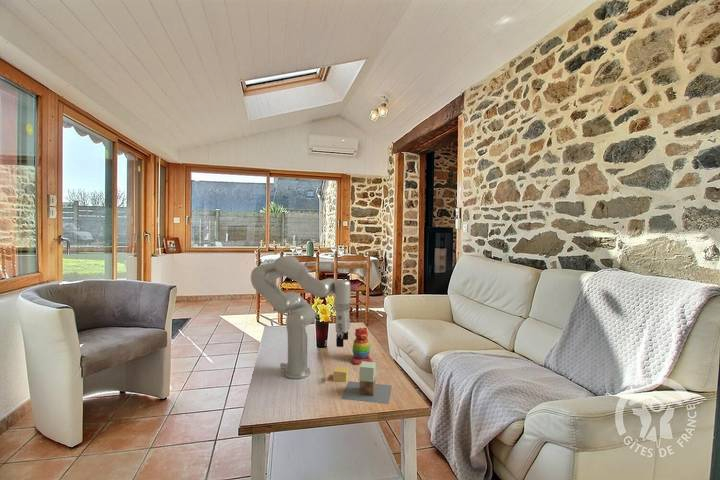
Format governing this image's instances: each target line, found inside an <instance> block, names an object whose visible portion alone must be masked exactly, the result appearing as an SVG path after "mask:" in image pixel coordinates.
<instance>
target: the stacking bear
mask: <svg viewBox="0 0 720 480" xmlns="http://www.w3.org/2000/svg"><path fill="white" fill-rule="evenodd" d="M354 334H355V338H354V341H353V344H352V354H353V357H352V359H351V363H352V364H353V365H355V366H358V365H359V366H360V365H361V362H362V361H365V362H373V359H372V358H371V357H370V352H371V351H370V350H371V349H370V348H371V347H370V346H371V345H370V342H369V339H368V335H369V333H368V330H367V328H366V327H364V328H363V327H359V328H355V331H354Z"/></svg>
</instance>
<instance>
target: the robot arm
mask: <svg viewBox="0 0 720 480" xmlns="http://www.w3.org/2000/svg"><path fill="white" fill-rule="evenodd" d="M281 277H286V278H288V279H290V280H292V281H294V282H296V283H298V285H299V286H300V287H301V288H302V290H304V291H305V292H307V293H309V294H311V295H314V296H315V297H318V298H325V297H327V296H330V295H333V302H334V303H333V310H334V311H335V332H336V338H335V339H336V341H335V342H336V343H335V344H336V345H335V346H336V347H337V348H343V347H344V346H345V345H344V341H348V340H349V330H350V328H351V320H350V319H351V317H350V315H351V314H350V311H351V281H350V280H348V279H336V278H330V277H328V278H325V279H324V278H323V279H321V280H320V279H318V278H316V277H313V276H312V275H310V274H309V269H308V267H307V266H305V265H303V264H301V263H300V261H299V259H298V258H297V257H296V256H294V255H284V256H283V255H282V256H279V257H278V258H276V259H275V261H274V262H271V263H270V262H269V263H265V264H260V265H258V266H255V267H254V268H253V269H252V271H251V273H250V282H251V285H252V287H253V288H254V290H255V291H256V292H257V293H259V295H261V297H263V298H264V299H265V301H267V303H268V304H270V306H271V307H272V308H273V309H274V310H275V311H276V312H277V313H279V314H281V315H284V314H287V313H288V314H287V316H286V319H285V325H286V326H285V327H286V331H287V362H286V363H283V362H281V363H280V364H279V366H280V370H284V374H283V375H284V376H285V377H286V378H288V379H293V380H294V379H295V380H297V379H298V380H299V379H304V378H306V377H308V376H310V374H311V368H309V367H308V333H307V329H306V327H307V326H309V325H311V324H312V323H313V322H314V321H315V320H316V315H317V314H316V312H315V309H314V308H313V307H312V306H311V305H310V304H309V303H308V302H307V301H306V300H305V298H303V296H301V295H300V294H299V293H297V292H295V291H288V292H285V291H283V290H282V289H281V288H280V287H279V286H278V285H277V284H275V283H273V282H271V281H272V280H277V279H279V278H281Z"/></svg>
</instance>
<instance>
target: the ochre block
mask: <svg viewBox="0 0 720 480" xmlns="http://www.w3.org/2000/svg"><path fill="white" fill-rule="evenodd" d="M349 372H350V367H349V366H339V365H338V366H337V365H336V366H335V368H334V370H333V373H332V375H333V377H332V378H333V380H332V381H333V382H341V383H347V381H348V379H349V377H350V376H349V375H350V373H349Z"/></svg>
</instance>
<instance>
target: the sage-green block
mask: <svg viewBox="0 0 720 480" xmlns="http://www.w3.org/2000/svg"><path fill="white" fill-rule="evenodd" d="M358 374H359V379H358V380H359V381H358V382H360V381H367V382H374V378H375V379H376V362H375V361H372V362H365V361H362V362H361V364H359V373H358Z"/></svg>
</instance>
